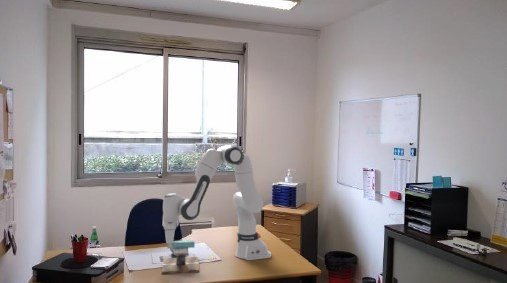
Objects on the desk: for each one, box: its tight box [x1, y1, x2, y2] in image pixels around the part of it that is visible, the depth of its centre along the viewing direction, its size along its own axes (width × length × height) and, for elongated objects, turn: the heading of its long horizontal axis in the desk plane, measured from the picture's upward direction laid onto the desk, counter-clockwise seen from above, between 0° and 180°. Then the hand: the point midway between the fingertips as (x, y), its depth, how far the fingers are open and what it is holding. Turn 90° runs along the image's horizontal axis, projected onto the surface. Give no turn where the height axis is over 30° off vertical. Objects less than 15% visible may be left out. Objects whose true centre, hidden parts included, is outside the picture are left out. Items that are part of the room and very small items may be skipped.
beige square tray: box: [161, 255, 200, 275], centre depth 210 cm, size 20×20×7 cm
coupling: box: [166, 240, 196, 257], centre depth 209 cm, size 8×15×7 cm, turn 100°
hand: (170, 246), depth 208 cm, fingers closed on coupling, 2 cm apart
